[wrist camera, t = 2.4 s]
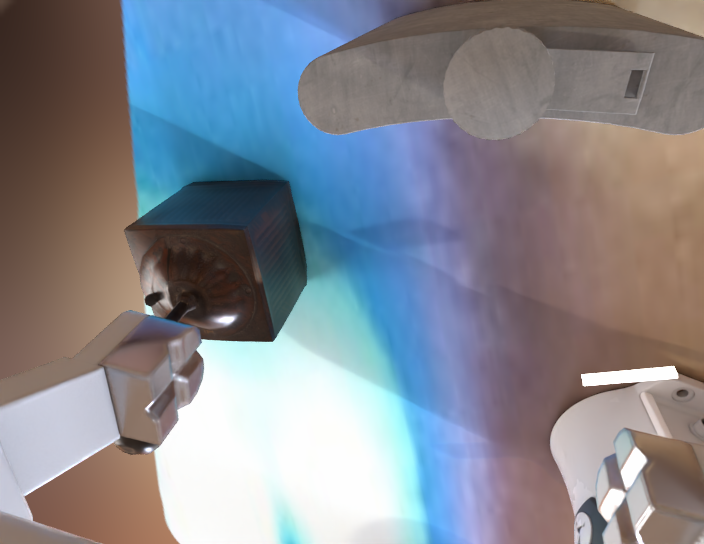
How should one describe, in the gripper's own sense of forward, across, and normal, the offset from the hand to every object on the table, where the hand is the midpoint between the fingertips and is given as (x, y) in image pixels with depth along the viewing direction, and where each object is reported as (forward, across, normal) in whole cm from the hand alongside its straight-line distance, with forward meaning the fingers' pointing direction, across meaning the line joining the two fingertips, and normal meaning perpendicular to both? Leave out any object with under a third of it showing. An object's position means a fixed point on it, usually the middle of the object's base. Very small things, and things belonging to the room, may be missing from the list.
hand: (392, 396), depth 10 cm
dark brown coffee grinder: (+31, +17, +18) cm, 40 cm away
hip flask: (+31, -1, -4) cm, 31 cm away
